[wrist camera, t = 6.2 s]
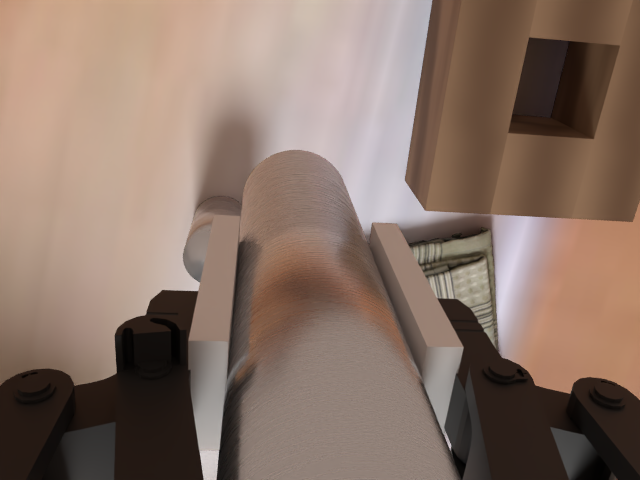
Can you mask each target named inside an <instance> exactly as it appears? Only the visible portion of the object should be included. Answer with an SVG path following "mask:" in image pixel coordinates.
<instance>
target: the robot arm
mask: <svg viewBox="0 0 640 480" xmlns="http://www.w3.org/2000/svg"><path fill="white" fill-rule="evenodd" d="M239 237H240V216H229V215H214V218H213V223H212V228H211V233H210V238H209V242H208V247H207V252H206V257H205V262H204V267H203V272H202V276H201V281H200V286H199V291H172V290H162V291H161V292H160V293H159V294H158V295H156V296H155V297H154V298H153V299H152V300H151V301H150V304H149V306H148V309H147V313H146V315H145V316H139V317H136V318H133V319H131V320H128V321H126V322H124V323H123V324H122V325H121V326H120V327H118V329H117V331H116V333H115V348H116V365H117V374H115V375H113V376H111V377H109V378H106V379H104V380H101V381H97V382H93V383H88V384H82V385H77V386H74V383H73V381H72V379H71V377H70V376H69V375H67V374H66V373H64V372H62V371H59V370H53V369H36V370H31V371H27V372H23V373H20V374H17V375H15V376H14V377H12V378H10V379H8V380H6V381H5V382H4V383H3V384H2V385H1V386H0V480H203V473H202V466H201V459H200V452H199V451H219V449H220V438H221V427H222V416H223V406H224V395H225V386H226V383H227V377H228V365H229V354H230V343H231V331H232V320H233V309H234V298H235V286H236V275H237V264H238V253H239ZM369 247H370V250H371V252H372V255H373V257H374V260H375V262H376V265H377V267H378V270H379V272H380V275H381V277H382V280H383V282H384V285H385V288H386V290H387V293H388V295H389V298H390V300H391V303H392V305H393V308H394V310H395V313H396V315H397V318H398V320H399V323H400V325H401V328H402V331H403V333H404V336H405V338H406V341H407V343H408V346H409V348H410V351H411V353H412V356H413V358H414V361H415V363H416V366H417V368H418V371H419V374H420V376H421V379H422V381H423V384H424V386H425V389H426V391H427V394H428V396H429V399H430V401H431V404H432V406H433V409H434V411H435V414H436V417H437V419H438V422H439V424H440V427H441V429H442V432H443V434H444V435H445V431H446V433H447V435H448V438H449V440H450V443H451V445H452V446H451V451H450V452H451V454H452V457H453V459H454V462H455V465H456V467H457V470H458V472H459V475H460V477H461V480H616V478H617V479H618V480H640V400H639V399H638V398H637V397H636V396H635V395H633V394H632V393H631V392H630V391H628V390H627V389H626V388H624V387H622V386H620V385H618V384H616V383H615V382H612V381H607V380H606V379H601V378H592V377H588V378H581V379H579V380H577V381H576V382H575V383H574V384H573V387H572V391H571V394H568V393H564V392H559V391H555V390H550V389H546V388H542V387H539V386H535V384H534V381H533V379H532V377H531V376H530V374H529V373H528V371H527V370H525V369H524V368H523V367H521V366H520V365H519V364H516V363H514V362H512V361H510V360H508V359H503V358H502V357H501V356H500V354H499V353H498V351H497V350H496V348H495V346H494V345H493V343H492V342H491V340H490V338H489V337H488V335H487V334H486V332H484V329H483V327H482V326H481V324H480V323H478V319H477V318H476V316H475V314H474V313H473V311H472V310H471V309H470V308H469V307H468V306H466V305H465V304H464V303H462V302H461V301H459V300H458V299H445V298H437V297H436V295H435V293H434V292H433V290H432V288H431V286H430V284H429V282H428V281H427V279H426V277H425V275H424V273H423V271H422V269H421V268H420V266H419V264H418V262H417V260H416V258H415V257H414V255H413V253H412V251H411V249H410V247H409V245H408V244H407V242H406V240H405V238H404V236H403V234H402V233H401V231H400V229H399V227H398V225H397V224H391V223H372V228H371V236H370V243H369Z"/></svg>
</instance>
